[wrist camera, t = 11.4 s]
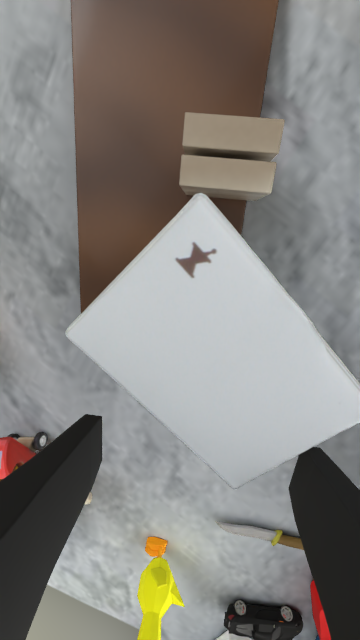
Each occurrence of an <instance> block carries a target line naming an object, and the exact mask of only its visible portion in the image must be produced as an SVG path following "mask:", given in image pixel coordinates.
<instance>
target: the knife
mask: <svg viewBox="0 0 360 640" xmlns="http://www.w3.org/2000/svg"><path fill="white" fill-rule="evenodd" d="M216 523H217V524H218V525H219V526H220V527H221V528H222V529H224V530H226V531H227V532H230V533H233V534H236V535H241V536H248V537H254V538H259V539H263V540H267V541H271V543H272V545H273V546H274V545H276V544H277V543H279V544H283V545H286V546H289V547H293V548H298V549H302V550H304V548H303V545H302V541H301V538H297V537H292V536H287V535H282V533H283V532H282V530H275V531H271V530H267V529H263V528H259V527H255V526H249V525H235V524H229V523H224V522H216Z"/></svg>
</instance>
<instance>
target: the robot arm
mask: <svg viewBox="0 0 360 640" xmlns="http://www.w3.org/2000/svg"><path fill="white" fill-rule="evenodd" d="M101 461H102V416H95V415H88V414H85V415H84V416H83V417H81V418H80V419H79V420H78V421H77V422H75V423H74V424H73V425H72V426H71V427H69V428H68V429H67V430H66V431H65V432H63V433H62V434H61V435H60V436H59V437H57V438H56V439H55V440H54V441H53V442H51V443H50V444H49V445H47V446H46V447H45V448H44V449H42V450H41V451H40V452H39V453H37V454H36V455H35V456H34V457H32V458H31V459H30V460H28V461H27V462H26V463H24V464H23V465H22V466H20V467H19V468H17V469H16V470H15V471H13V472H12V473H11V474H9V475H8V476H7V477H5V478H4V479H2V480H1V481H0V640H25V639H26V637H27V634H28V631H29V629H30V626H31V623H32V621H33V618H34V616H35V613H36V611H37V608H38V606H39V603H40V601H41V598H42V595H43V593H44V590H45V588H46V585H47V583H48V580H49V578H50V576H51V573H52V571H53V569H54V567H55V564H56V562H57V560H58V558H59V556H60V554H61V552H62V550H63V548H64V545H65V543H66V541H67V539H68V537H69V535H70V533H71V531H72V529H73V527H74V525H75V523H76V521H77V519H78V516H79V514H80V512H81V510H82V508H83V506H84V504H85V502H86V500H87V498H88V495H89V493H90V491H91V489H92V486H93V484H94V481H95V478H96V476H97V473H98V470H99V467H100V464H101ZM289 492H290V498H291V503H292V508H293V513H294V517H295V522H296V525H297V528H298V532H299V535H300V538H301V541H302V545H303V548H304V551H305V554H306V557H307V561H308V564H309V567H310V570H311V573H312V576H313V579H314V583H315V586H316V589H317V592H318V595H319V598H320V601H321V605H322V608H323V611H324V615H325V618H326V622H327V625H328V629H329V633H330V637H331V640H360V490H359V489H358V488H357V487H356V486H355V485H354V484H353V483H352V482H351V480H350V479H349V478H348V477H347V476H346V475H345V474H344V473H343V472H342V471H341V470H340V469H339V467H338V466H337V465H336V464H335V463H334V462H333V461H332V460H331V459H330V458H329V457H328V456H327V455H326V454H325V452H324V451H323V450H322V449H321V448H318V447H312V448H310V449H308V450H307V451H305V452H303V453H301V454H299V457H298V460H297V463H296V466H295V469H294V473H293V476H292V479H291V482H290V485H289Z"/></svg>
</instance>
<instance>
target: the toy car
mask: <svg viewBox="0 0 360 640" xmlns="http://www.w3.org/2000/svg"><path fill="white" fill-rule="evenodd" d="M237 604H238V605H237ZM240 604H241V605H240ZM236 605H237V607H236ZM283 610H284V611H283ZM282 611H283V612H282ZM224 626H225V627H226V628H227V629H228V630H229V634H234V635H237V636H242V637H253V639H254V640H292V639H293V638H294V637H295V636H296V635H298V634H299V633H300V632H301V631H302V628H303V621H302V617H301V615H300V613H299V612H297V611H295V610H293V609H292V611H291V609H290V608H289V607H287V606H282V607H281V609H280V608H277V607H264V606H258V605H245V603H244V602H243V601H242V600H237V601H236V602H235V604H230V605H229V607H228V609H227V612H225V619H224Z"/></svg>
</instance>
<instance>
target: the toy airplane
mask: <svg viewBox="0 0 360 640" xmlns="http://www.w3.org/2000/svg"><path fill="white" fill-rule="evenodd" d="M46 443H47V435H46V433H44V432H40V433H38V434H37V435H36V436H35V437H20V438H19V437H18V435H17V434H10V435H9V436H8V437H3V438H0V481H1V480H2V479H4V478H5V477H7V476H8V475H9V474H11V473H12V472H13V471H15V470H16V469H17V468H19V467H20V466H22V465H23V464H24V463H26V462H27V461H28V460H30V459H31V458H32V457H34V456H35V455H36V453H35V451H36V450H42V449H43V448H44V447H45V445H46ZM91 499H92V493H91V492H90V493H89V495H88V498H87V500H86V502H85V504H84V505H87V504H90V503H91Z"/></svg>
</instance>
